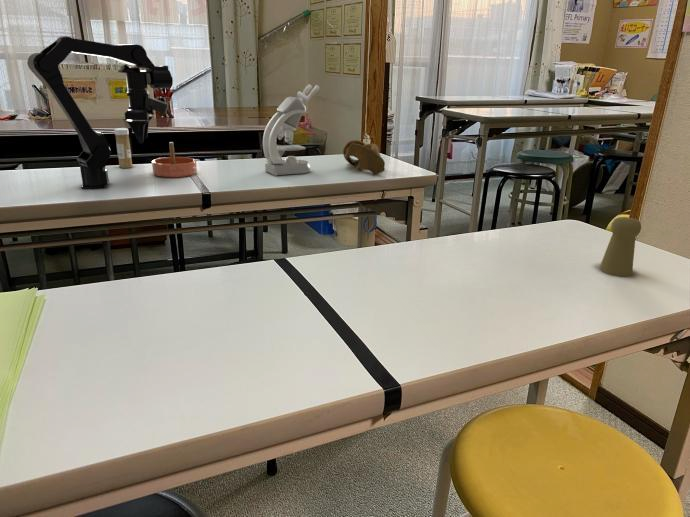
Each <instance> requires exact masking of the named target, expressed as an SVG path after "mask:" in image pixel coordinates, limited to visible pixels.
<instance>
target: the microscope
mask: <svg viewBox="0 0 690 517" xmlns="http://www.w3.org/2000/svg"><path fill="white" fill-rule="evenodd" d="M320 89H321V87H320V86H319V85H318V84H315V86H314V87H313V85H311V84H310V83H309V84H307V85H306V86H305V88H304V89H303V90H302V92H301V91H300V90H299V91H298V92H297V93H296V97H294V96H287V97H286V98H285V99H284V100H283V101H282V102H281V104H280V105H279V106H278V107H277V108H276V111H277V112H275V114H273V116H272V117H271V118H270V120H269V121H268V123H267V125H266V127H265V128H264V132H263V134H262V135H263V136H262V150H263V155H264V158H265V159H266V161H265V162H264V170H265V172H266V173H269V174H271V175H273V176H274V177H277V176H283V175H296V174H302V175H305V174H307V173H309V172H311V165H310V164H309V161H308V160H305V159H298V158H297V157H296V156H295V155H288V156H286V158H285V159H282V157H283V155H284V153H285V152H286V151H287V152H293V151H301V150H306V147H305V146H302V145H300V144H293V143H294V132H296V130H297V128H298V126H299V123H300V121H301V118H302V116H303V113H306V112H307V107H306V105H305V103H304V101H305V102H306V103H308V102H310V99H312V97H313V96H314V95H315V94H317V92H319V90H320ZM309 92H310V93H309ZM308 93H309V94H308ZM306 94H308V95H306ZM283 138H284V142H285V143H288V145H287V144H285V145H281V144H277V141H278V140H279V141H280V140H282V139H283ZM277 139H278V140H277Z"/></svg>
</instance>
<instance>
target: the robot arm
mask: <svg viewBox="0 0 690 517" xmlns="http://www.w3.org/2000/svg"><path fill="white" fill-rule="evenodd" d="M71 53H75V54H81V55H90V56H94V57H95V56H96V57H103V58H110V59H112V60H114V61H115V60H116V61H118V62H120V63H122V65H121V67H120V68H119V69H118V70H117V72H118V73H119V74H121V73H122V74H125V78H126V87H127V92H126V96H127V97H128V105H129V106H128V109H127V110H126V111H125V112H124V120H125V121H126V123H127V124H128V126H129V127H130V129H131V131H132V132H133V134H134V136H135V139H137V141H138V143H139V144H143V143H144V140H146V139H148V135H149V134H148V133H149V126H150V121H151V120H152V119H153V118H154V115H155V112H158V113H160V114H162V115H166V114H167V112H168V108H169V105H170V104H169V102H166V98H165V97H163V96H159V97H158V98H154V97H151V93H150V92H149V89H148V87H150V88H151V89H152V90H153V89H154V90H155V89H171V88H172V87H173V82H174V78H173V75H172V73H171V71H170V70H169V65H155V64H154V63H153V61H152V60H151V59H150V58H149V57H148V54H147V51H146V49H145V48H144V46H143V45H141V44H137V43H133V44H132V43H131V44H127V43H125V44H111V43H104V42H99V41H92V40H86V39H80V38H73V37H71V36H69V35H68V36H67V35H66V36H65V35H64V36H63V35H61V36H59V37H57V39H56V40H55V41H53V42H52V43H51V44H50V45H47V46H46V47H44V48H43V49H42V50H41V51H40V52H34V53H31V54H30V55H29V56H28V58H27V62H26V64H27V67H28V69H29V70H30V72H32V74H33V75H34V76H35V77H36V78H37V79H38V80H39V82H41V83H42V84H43V85H44V86H45V87H46V88H47V89H48V90H49V92H50V93H51V95H52V96H53V98H54V100H55V101H56V103H57V104H58V105H59V107H60V109H61V110H62V112H63V113H64V115H65V116H66V118H67V119H68V121H69V123H70V124H71V126H72V128H73V129H74V130H75V131H76V133H77V136H78V139H79V143H80V146H81V148H82V151H81V152H80V154H79V155H78V156H77V157H76V160H77V162H78V164H79V165H80V167H79V170H80V175H81V176H80V177H81V183H82V186H81V189H106V187H107V186H108V185H109V184H110V179H109V172H108V170H107V169H106V166H107V162H108V160H109V159H110V158H111V154H112V150H111V148H110V147H111V146H112V144H110V143H109V142H108V140H107V138H106V136H105V133H103V132H100V131H95V130H94V129H93V128H92V126H91V124H90V123H89V121H88V119H87V118H86V117H85V115H84V112H82V110H81V109H80V107H79V105H78V103H77V102H76V100H75V99H74V98H73V96H72V94H71V93H70V91H69V89H68V87H67V86H66V84H65V82H64V77H63V74H62V71H61V68H60V66H59V65H60V64H62V63H63V62H64V61H65V60H66V59H67V58H68V56H69V55H70V54H71ZM128 65H131V66H128ZM141 69H145V70H141Z"/></svg>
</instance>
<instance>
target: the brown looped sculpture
mask: <svg viewBox="0 0 690 517" xmlns="http://www.w3.org/2000/svg"><path fill="white" fill-rule="evenodd" d="M342 154H343V155H342V156H343V157H344V159H345V161H346V162H347V163H348V164H349V165H350V166H352V167H353V168H356V170H357V171H359V172H362V171H363V170H365V171H369V172H370V173H372V174H373V175H379V174H381V173H383V172H385V164H386V163H385V160H384V158H383V157H382V156H381V153H380V152H379V147H378V145H377V144H376V143H373V142H371V143H365V142H363V141H362V140H359V139H353V140H350V141H348V142H347V143H346V144H345V145H344V147H343V148H342ZM352 157H354V158H356V159H354V158H352Z"/></svg>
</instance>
